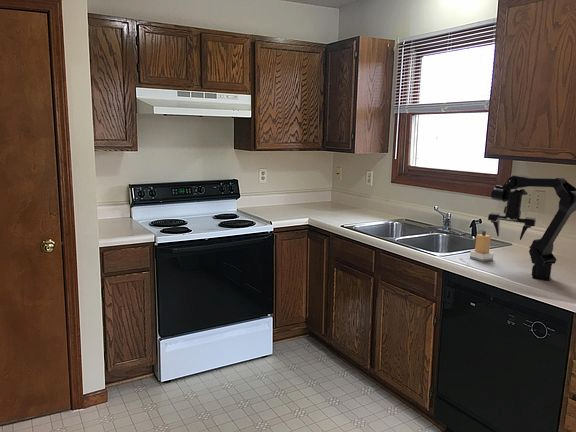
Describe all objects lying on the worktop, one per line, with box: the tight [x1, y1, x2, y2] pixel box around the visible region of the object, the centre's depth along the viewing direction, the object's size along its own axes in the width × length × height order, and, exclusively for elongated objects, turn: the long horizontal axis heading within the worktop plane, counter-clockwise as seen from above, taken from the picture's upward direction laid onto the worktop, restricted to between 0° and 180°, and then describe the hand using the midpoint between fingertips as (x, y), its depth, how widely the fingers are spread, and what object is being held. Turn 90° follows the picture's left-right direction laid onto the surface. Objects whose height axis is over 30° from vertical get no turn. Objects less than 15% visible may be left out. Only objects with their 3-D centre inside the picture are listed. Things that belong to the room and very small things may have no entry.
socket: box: [469, 249, 494, 263], centre depth 227 cm, size 7×7×4 cm
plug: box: [474, 230, 492, 254], centre depth 226 cm, size 4×4×12 cm
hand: (509, 238), depth 213 cm, fingers open, 9 cm apart
